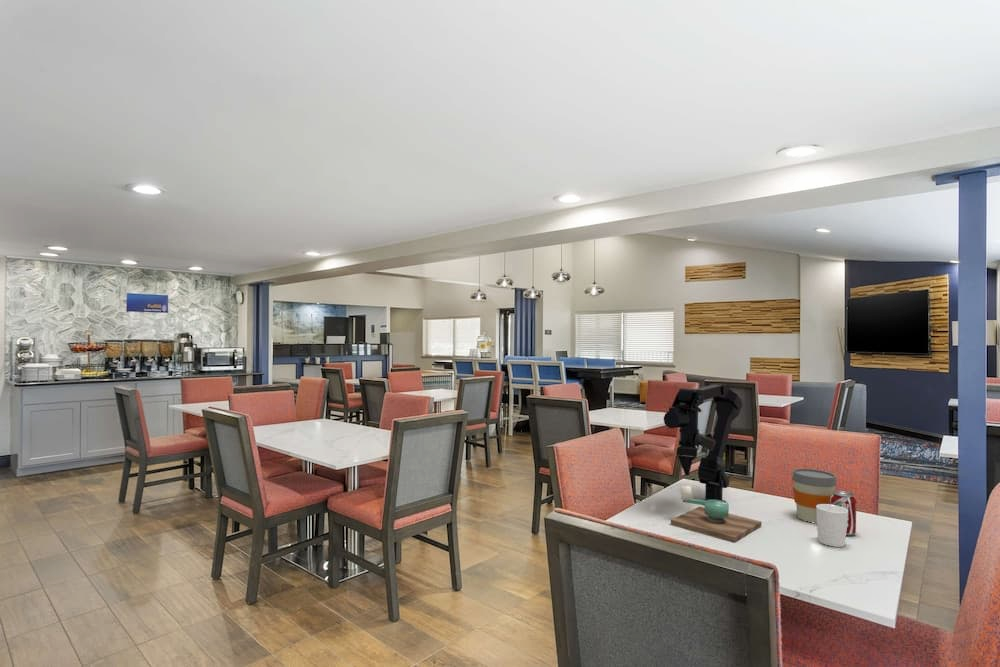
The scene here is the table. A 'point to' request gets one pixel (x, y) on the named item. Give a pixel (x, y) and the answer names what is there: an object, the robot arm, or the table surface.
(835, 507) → the white cup
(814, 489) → the reusable coffee cup
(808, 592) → the table surface
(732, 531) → the brown wooden cutting board
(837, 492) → the soda can
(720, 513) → the teal bulbous piece
